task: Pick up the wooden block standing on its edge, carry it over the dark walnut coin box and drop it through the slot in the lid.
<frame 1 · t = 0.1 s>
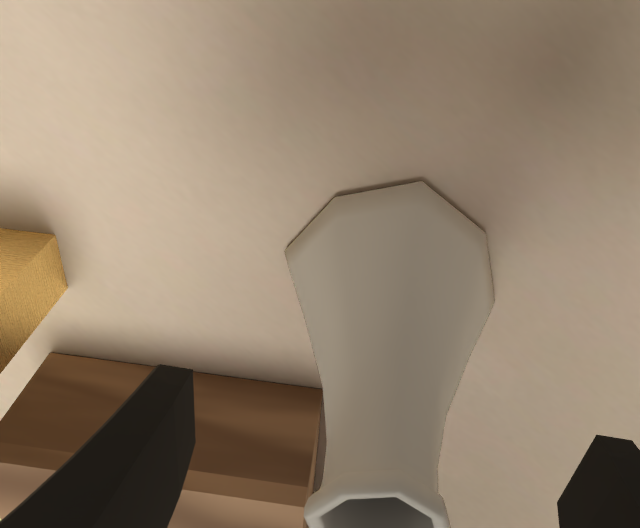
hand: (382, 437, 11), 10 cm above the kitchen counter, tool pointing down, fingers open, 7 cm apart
flask: (390, 268, 21), on the kitchen counter
coin box: (193, 457, 28), on the kitchen counter
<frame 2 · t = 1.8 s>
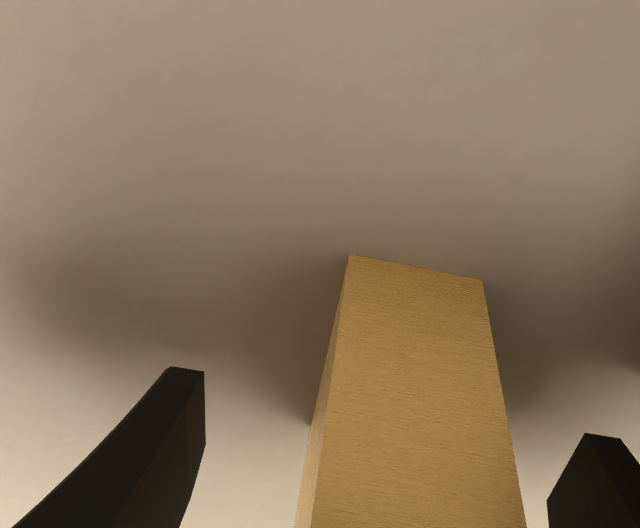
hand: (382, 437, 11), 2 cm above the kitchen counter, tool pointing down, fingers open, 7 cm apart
wooden block: (386, 361, 12), on the kitchen counter
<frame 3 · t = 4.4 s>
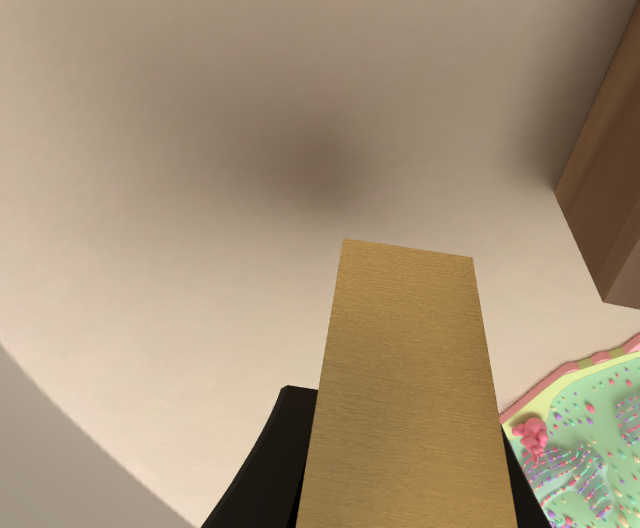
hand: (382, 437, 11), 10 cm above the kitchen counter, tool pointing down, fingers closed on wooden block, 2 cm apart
wooden block: (386, 342, 13), point 7 cm above the kitchen counter, touching gripper
when the fingers open (8 cm above the kitchen counter, at t = 6.5 s): wooden block drops 5 cm, resting in coin box.
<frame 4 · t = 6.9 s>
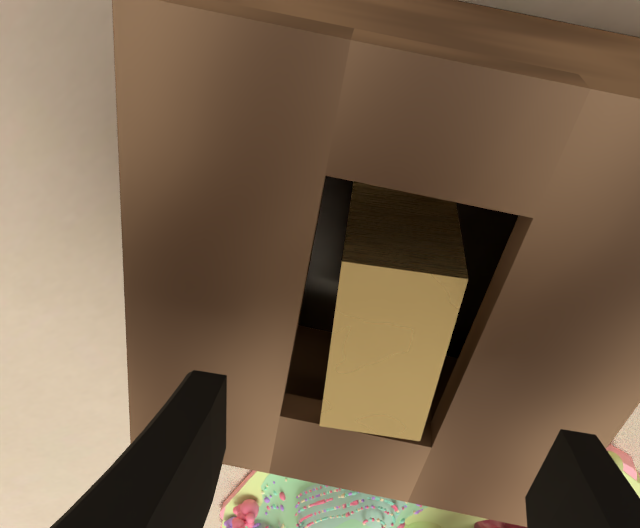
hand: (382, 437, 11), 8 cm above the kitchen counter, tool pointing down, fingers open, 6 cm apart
wooden block: (389, 222, 18), resting in coin box
coin box: (391, 211, 17), on the kitchen counter
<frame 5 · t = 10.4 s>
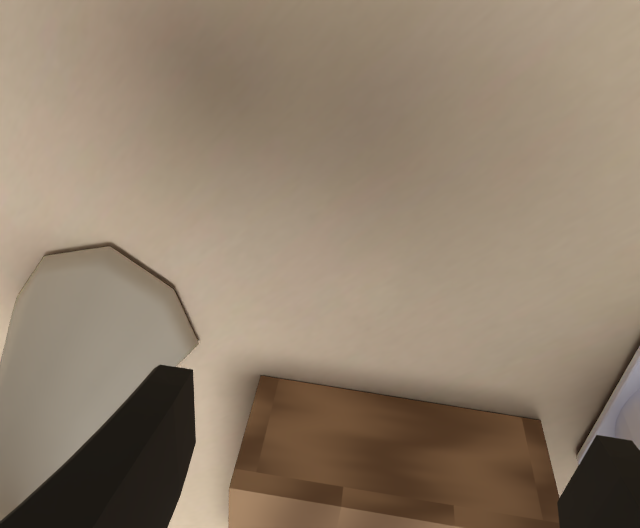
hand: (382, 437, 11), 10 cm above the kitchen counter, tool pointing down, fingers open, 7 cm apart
flask: (113, 313, 24), on the kitchen counter
coin box: (377, 481, 28), on the kitchen counter
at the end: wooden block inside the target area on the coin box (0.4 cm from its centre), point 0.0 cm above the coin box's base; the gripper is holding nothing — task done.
